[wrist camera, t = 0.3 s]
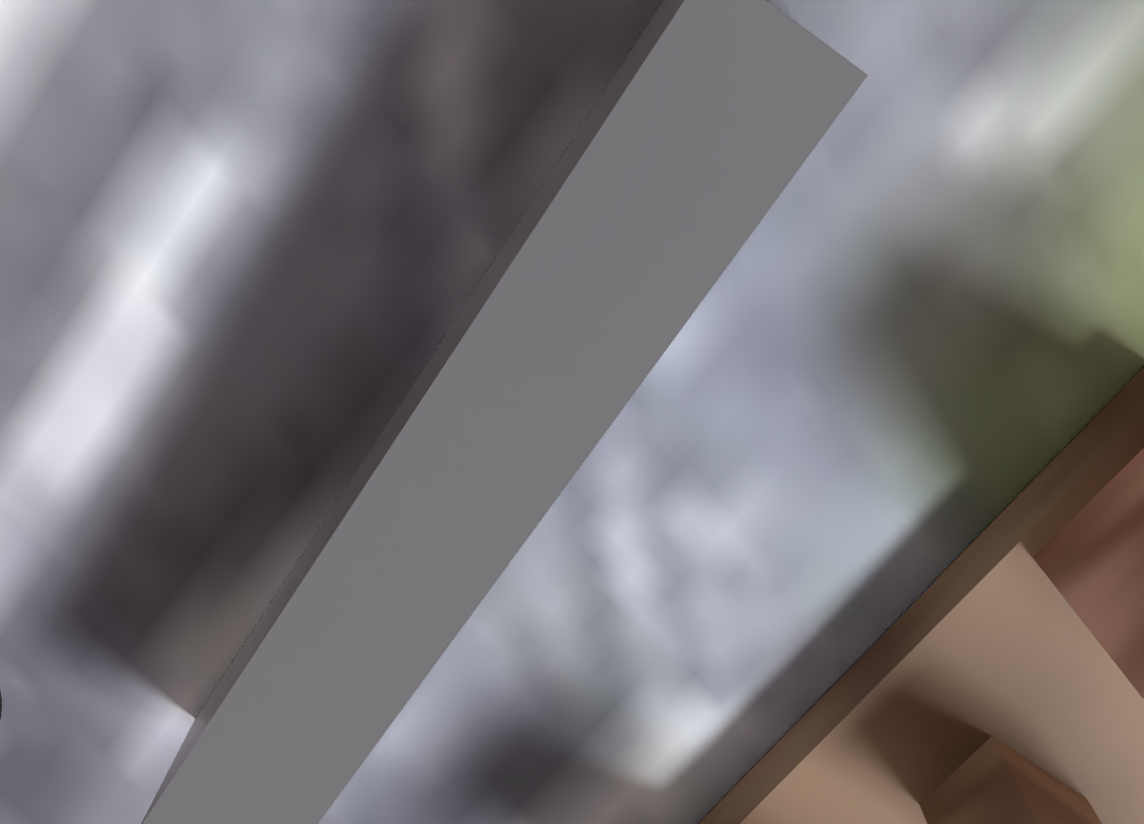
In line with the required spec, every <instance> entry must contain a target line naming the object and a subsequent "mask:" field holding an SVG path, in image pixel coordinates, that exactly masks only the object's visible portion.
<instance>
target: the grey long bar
mask: <svg viewBox="0 0 1144 824" xmlns="http://www.w3.org/2000/svg"><path fill="white" fill-rule="evenodd" d="M867 76H868V75H867V74H866V73H864V72H863V71H862V70H860V69H859V68H858V67H856V66H855V65H854V64H852V63H851V62H850V61H848V60H847V59H846V58H844V57H843V56H841V55H840V54H839V53H837V52H836V51H835V50H833V49H832V48H831V47H829V46H828V45H827V44H825V43H824V42H823V41H821V40H820V39H819V38H817V37H816V36H815V35H813V34H812V33H811V32H809V31H808V30H806V29H805V28H804V27H802V26H801V25H800V24H798V23H797V22H796V21H794V20H793V19H792V18H790V17H789V16H788V15H786V14H785V13H784V12H782V11H781V10H780V9H778V8H777V7H776V6H774V5H773V4H771V3H770V2H769V1H767V0H663V2H662V3H661V5H660V6H659V8H658V9H657V11H656V12H655V14H654V15H653V17H652V18H651V20H650V22H649V23H648V25H647V26H646V28H645V29H644V31H643V32H642V34H641V35H640V37H639V38H638V40H637V41H636V43H635V45H634V46H633V48H632V49H631V51H630V52H629V54H628V55H627V57H626V58H625V60H624V61H623V63H622V64H621V66H620V68H619V69H618V71H617V72H616V74H615V75H614V77H613V78H612V80H611V81H610V83H609V84H608V86H607V88H606V89H605V91H604V92H603V94H602V95H601V97H600V98H599V100H598V101H597V103H596V104H595V106H594V107H593V109H592V111H591V112H590V114H589V115H588V117H587V118H586V120H585V121H584V123H583V124H582V126H581V127H580V129H579V131H578V132H577V134H576V135H575V137H574V138H573V140H572V141H571V143H570V144H569V146H568V147H567V149H566V150H565V152H564V154H563V155H562V157H561V158H560V160H559V161H558V163H557V164H556V166H555V167H554V169H553V170H552V172H551V173H550V175H549V177H548V178H547V180H546V181H545V183H544V184H543V186H542V187H541V189H540V190H539V192H538V193H537V195H536V197H535V198H534V200H533V201H532V203H531V204H530V206H529V207H528V209H527V210H526V212H525V213H524V215H523V216H522V218H521V220H520V221H519V223H518V224H517V226H516V227H515V229H514V230H513V232H512V233H511V235H510V236H509V238H508V239H507V241H506V243H505V244H504V246H503V247H502V249H501V250H500V252H499V253H498V255H497V256H496V258H495V259H494V261H493V263H492V264H491V266H490V267H489V269H488V270H487V272H486V273H485V275H484V276H483V278H482V279H481V281H480V282H479V284H478V286H477V287H476V289H475V290H474V292H473V293H472V295H471V296H470V298H469V299H468V301H467V302H466V304H465V306H464V307H463V309H462V310H461V312H460V313H459V315H458V316H457V318H456V319H455V321H454V322H453V324H452V325H451V327H450V329H449V330H448V332H447V333H446V335H445V336H444V338H443V339H442V341H441V342H440V344H439V345H438V347H437V348H436V350H435V352H434V353H433V355H432V356H431V358H430V359H429V361H428V362H427V364H426V365H425V367H424V368H423V370H422V372H421V373H420V375H419V376H418V378H417V379H416V381H415V382H414V384H413V385H412V387H411V388H410V390H409V391H408V393H407V395H406V396H405V398H404V399H403V401H402V402H401V404H400V405H399V407H398V408H397V410H396V411H395V413H394V415H393V416H392V418H391V419H390V421H389V422H388V424H387V425H386V427H385V428H384V430H383V431H382V433H381V434H380V436H379V438H378V439H377V441H376V442H375V444H374V445H373V447H372V448H371V450H370V451H369V453H368V454H367V456H366V457H365V459H364V461H363V462H362V464H361V465H360V467H359V468H358V470H357V471H356V473H355V474H354V476H353V477H352V479H351V481H350V482H349V484H348V485H347V487H346V488H345V490H344V491H343V493H342V494H341V496H340V497H339V499H338V500H337V502H336V504H335V505H334V507H333V508H332V510H331V511H330V513H329V514H328V516H327V517H326V519H325V520H324V522H323V523H322V525H321V527H320V528H319V530H318V531H317V533H316V534H315V536H314V537H313V539H312V540H311V542H310V543H309V545H308V547H307V548H306V550H305V551H304V553H303V554H302V556H301V557H300V559H299V560H298V562H297V563H296V565H295V566H294V568H293V570H292V571H291V573H290V574H289V576H288V577H287V579H286V580H285V582H284V583H283V585H282V586H281V588H280V590H279V591H278V593H277V594H276V596H275V597H274V599H273V600H272V602H271V603H270V605H269V606H268V608H267V609H266V611H265V613H264V614H263V616H262V617H261V619H260V620H259V622H258V623H257V625H256V626H255V628H254V629H253V631H252V632H251V634H250V636H249V637H248V639H247V640H246V642H245V643H244V645H243V646H242V648H241V649H240V651H239V652H238V654H237V656H236V657H235V659H234V660H233V662H232V663H231V665H230V666H229V668H228V669H227V671H226V672H225V674H224V675H223V677H222V679H221V680H220V682H219V683H218V685H217V686H216V688H215V689H214V691H213V692H212V694H211V695H210V697H209V698H208V700H207V702H206V703H205V705H204V706H203V708H202V709H201V711H200V712H199V714H198V715H197V717H196V718H195V720H194V722H193V724H192V726H191V728H190V730H189V732H188V734H187V736H186V738H185V740H184V742H183V744H182V746H181V748H180V750H179V751H178V753H177V755H176V757H175V759H174V761H173V763H172V765H171V767H170V769H169V771H168V773H167V775H166V777H165V779H164V781H163V783H162V784H161V786H160V788H159V790H158V792H157V794H156V796H155V798H154V800H153V802H152V804H151V806H150V808H149V810H148V812H147V814H146V816H145V818H144V819H143V821H142V823H141V824H318V823H319V821H320V820H321V819H322V817H323V816H324V815H325V813H326V812H327V811H328V809H329V808H330V807H331V805H332V804H333V802H334V801H335V800H336V798H337V797H338V796H339V794H340V793H341V792H342V790H343V789H344V787H345V786H346V785H347V783H348V782H349V781H350V779H351V778H352V777H353V775H354V774H355V772H356V771H357V770H358V768H359V767H360V766H361V764H362V763H363V762H364V760H365V759H366V758H367V756H368V755H369V753H370V752H371V751H372V749H373V748H374V747H375V745H376V744H377V743H378V741H379V740H380V738H381V737H382V736H383V734H384V733H385V732H386V730H387V729H388V728H389V726H390V725H391V723H392V722H393V721H394V719H395V718H396V717H397V715H398V714H399V713H400V711H401V710H402V709H403V707H404V706H405V704H406V703H407V702H408V700H409V699H410V698H411V696H412V695H413V694H414V692H415V691H416V689H417V688H418V687H419V685H420V684H421V683H422V681H423V680H424V679H425V677H426V676H427V674H428V673H429V672H430V670H431V669H432V668H433V666H434V665H435V664H436V662H437V661H438V660H439V658H440V657H441V655H442V654H443V653H444V651H445V650H446V649H447V647H448V646H449V645H450V643H451V642H452V640H453V639H454V638H455V636H456V635H457V634H458V632H459V631H460V630H461V628H462V627H463V625H464V624H465V623H466V621H467V620H468V619H469V617H470V616H471V615H472V613H473V612H474V611H475V609H476V608H477V606H478V605H479V604H480V602H481V601H482V600H483V598H484V597H485V596H486V594H487V593H488V591H489V590H490V589H491V587H492V586H493V585H494V583H495V582H496V581H497V579H498V578H499V576H500V575H501V574H502V572H503V571H504V570H505V568H506V567H507V566H508V564H509V563H510V561H511V560H512V559H513V557H514V556H515V555H516V553H517V552H518V551H519V549H520V548H521V547H522V545H523V544H524V542H525V541H526V540H527V538H528V537H529V536H530V534H531V533H532V532H533V530H534V529H535V527H536V526H537V525H538V523H539V522H540V521H541V519H542V518H543V517H544V515H545V514H546V512H547V511H548V510H549V508H550V507H551V506H552V504H553V503H554V502H555V500H556V499H557V498H558V496H559V495H560V493H561V492H562V491H563V489H564V488H565V487H566V485H567V484H568V483H569V481H570V480H571V478H572V477H573V476H574V474H575V473H576V472H577V470H578V469H579V468H580V466H581V465H582V463H583V462H584V461H585V459H586V458H587V457H588V455H589V454H590V453H591V451H592V450H593V449H594V447H595V446H596V444H597V443H598V442H599V440H600V439H601V438H602V436H603V435H604V434H605V432H606V431H607V429H608V428H609V427H610V425H611V424H612V423H613V421H614V420H615V419H616V417H617V416H618V414H619V413H620V412H621V410H622V409H623V408H624V406H625V405H626V404H627V402H628V401H629V400H630V398H631V397H632V395H633V394H634V393H635V391H636V390H637V389H638V387H639V386H640V385H641V383H642V382H643V380H644V379H645V378H646V376H647V375H648V374H649V372H650V371H651V370H652V368H653V367H654V365H655V364H656V363H657V361H658V360H659V359H660V357H661V356H662V355H663V353H664V352H665V351H666V349H667V348H668V346H669V345H670V344H671V342H672V341H673V340H674V338H675V337H676V336H677V334H678V333H679V331H680V330H681V329H682V327H683V326H684V325H685V323H686V322H687V321H688V319H689V318H690V316H691V315H692V314H693V312H694V311H695V310H696V308H697V307H698V306H699V304H700V303H701V302H702V300H703V299H704V297H705V296H706V295H707V293H708V292H709V291H710V289H711V288H712V287H713V285H714V284H715V282H716V281H717V280H718V278H719V277H720V276H721V274H722V273H723V272H724V270H725V269H726V267H727V266H728V265H729V263H730V262H731V261H732V259H733V258H734V257H735V255H736V254H737V252H738V251H739V250H740V248H741V247H742V246H743V244H744V243H745V242H746V240H747V239H748V238H749V236H750V235H751V233H752V232H753V231H754V229H755V228H756V227H757V225H758V224H759V223H760V221H761V220H762V218H763V217H764V216H765V214H766V213H767V212H768V210H769V209H770V208H771V206H772V205H773V203H774V202H775V201H776V199H777V198H778V197H779V195H780V194H781V193H782V191H783V190H784V189H785V187H786V186H787V184H788V183H789V182H790V180H791V179H792V178H793V176H794V175H795V174H796V172H797V171H798V169H799V168H800V167H801V165H802V164H803V163H804V161H805V160H806V159H807V157H808V156H809V154H810V153H811V152H812V150H813V149H814V148H815V146H816V145H817V144H818V142H819V141H820V140H821V138H822V137H823V135H824V134H825V133H826V131H827V130H828V129H829V127H830V126H831V125H832V123H833V122H834V120H835V119H836V118H837V116H838V115H839V114H840V112H841V111H842V110H843V108H844V107H845V105H846V104H847V103H848V101H849V100H850V99H851V97H852V96H853V95H854V93H855V92H856V91H857V89H858V88H859V86H860V85H861V84H862V82H863V81H864V80H865V78H866V77H867Z"/></svg>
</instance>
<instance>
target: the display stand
mask: <svg viewBox="0 0 1144 824" xmlns="http://www.w3.org/2000/svg"><path fill="white" fill-rule="evenodd" d="M698 824H1144V367H1143V368H1142V369H1141V370H1140V371H1139V372H1138V373H1137V374H1136V375H1135V376H1134V377H1133V378H1132V379H1131V380H1130V381H1129V383H1128V384H1127V385H1126V386H1125V387H1124V388H1123V389H1122V390H1121V391H1120V392H1119V393H1118V394H1117V395H1116V396H1115V397H1114V398H1113V399H1112V400H1111V401H1110V402H1109V403H1108V404H1107V405H1106V406H1105V407H1104V408H1103V409H1102V410H1101V411H1100V412H1099V413H1098V414H1097V415H1096V416H1095V417H1094V418H1093V419H1092V420H1091V421H1090V422H1089V424H1088V425H1087V426H1086V427H1085V428H1084V429H1083V430H1082V431H1081V432H1080V433H1079V434H1078V435H1077V436H1076V437H1075V438H1074V439H1073V440H1072V441H1071V442H1070V443H1069V444H1068V445H1067V446H1066V447H1065V448H1064V449H1063V450H1062V451H1061V452H1060V453H1059V454H1058V455H1057V456H1056V457H1055V458H1054V459H1053V460H1052V461H1051V462H1050V464H1049V465H1048V466H1047V467H1046V468H1045V469H1044V470H1043V471H1042V472H1041V473H1040V474H1039V475H1038V476H1037V477H1036V478H1035V479H1034V480H1033V481H1032V482H1031V483H1030V484H1029V485H1028V486H1027V487H1026V488H1025V489H1024V490H1023V491H1022V492H1021V493H1020V494H1019V495H1018V496H1017V497H1016V498H1015V499H1014V500H1013V501H1012V502H1011V504H1010V505H1009V506H1008V507H1007V508H1006V509H1005V510H1004V511H1003V512H1002V513H1001V514H1000V515H999V516H998V517H997V518H996V519H995V520H994V521H993V522H992V523H991V524H990V525H989V526H988V527H987V528H986V529H985V530H984V531H983V532H982V533H981V534H980V535H979V536H978V537H977V538H976V539H975V540H974V541H973V542H972V544H971V545H970V546H969V547H968V548H967V549H966V550H965V551H964V552H963V553H962V554H961V555H960V556H959V557H958V558H957V559H956V560H955V561H954V562H953V563H952V564H951V565H950V566H949V567H948V568H947V569H946V570H945V571H944V572H943V573H942V574H941V575H940V576H939V577H938V578H937V579H936V580H935V581H934V582H933V583H932V585H931V586H930V587H929V588H928V589H927V590H926V591H925V592H924V593H923V594H922V595H921V596H920V597H919V598H918V599H917V600H916V601H915V602H914V603H913V604H912V605H911V606H910V607H909V608H908V609H907V610H906V611H905V612H904V613H903V614H902V615H901V616H900V617H899V618H898V619H897V620H896V621H895V622H894V623H893V625H892V626H891V627H890V628H889V629H888V630H887V631H886V632H885V633H884V634H883V635H882V636H881V637H880V638H879V639H878V640H877V641H876V642H875V643H874V644H873V645H872V646H871V647H870V648H869V649H868V650H867V651H866V652H865V653H864V654H863V655H862V656H861V657H860V658H859V659H858V660H857V661H856V662H855V663H854V665H853V666H852V667H851V668H850V669H849V670H848V671H847V672H846V673H845V674H844V675H843V676H842V677H841V678H840V679H839V680H838V681H837V682H836V683H835V684H834V685H833V686H832V687H831V688H830V689H829V690H828V691H827V692H826V693H825V694H824V695H823V696H822V697H821V698H820V699H819V700H818V701H817V702H816V703H815V704H814V706H813V707H812V708H811V709H810V710H809V711H808V712H807V713H806V714H805V715H804V716H803V717H802V718H801V719H800V720H799V721H798V722H797V723H796V724H795V725H794V726H793V727H792V728H791V729H790V730H789V731H788V732H787V733H786V734H785V735H784V736H783V737H782V738H781V739H780V740H779V741H778V742H777V743H776V744H775V746H774V747H773V748H772V749H771V750H770V751H769V752H768V753H767V754H766V755H765V756H764V757H763V758H762V759H761V760H760V761H759V762H758V763H757V764H756V765H755V766H754V767H753V768H752V769H751V770H750V771H749V772H748V773H747V774H746V775H745V776H744V777H743V778H742V779H741V780H740V781H739V782H738V783H737V784H736V786H735V787H734V788H733V789H732V790H731V791H730V792H729V793H728V794H727V795H726V796H725V797H724V798H723V799H722V800H721V801H720V802H719V803H718V804H717V805H716V806H715V807H714V808H713V809H712V810H711V811H710V812H709V813H708V814H707V815H706V816H705V817H704V818H703V819H702V820H701V821H700V822H699V823H698Z"/></svg>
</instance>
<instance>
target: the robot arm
mask: <svg viewBox="0 0 1144 824" xmlns="http://www.w3.org/2000/svg"><path fill="white" fill-rule="evenodd" d="M1 711H2V697H1V691H0V718H1Z"/></svg>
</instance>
